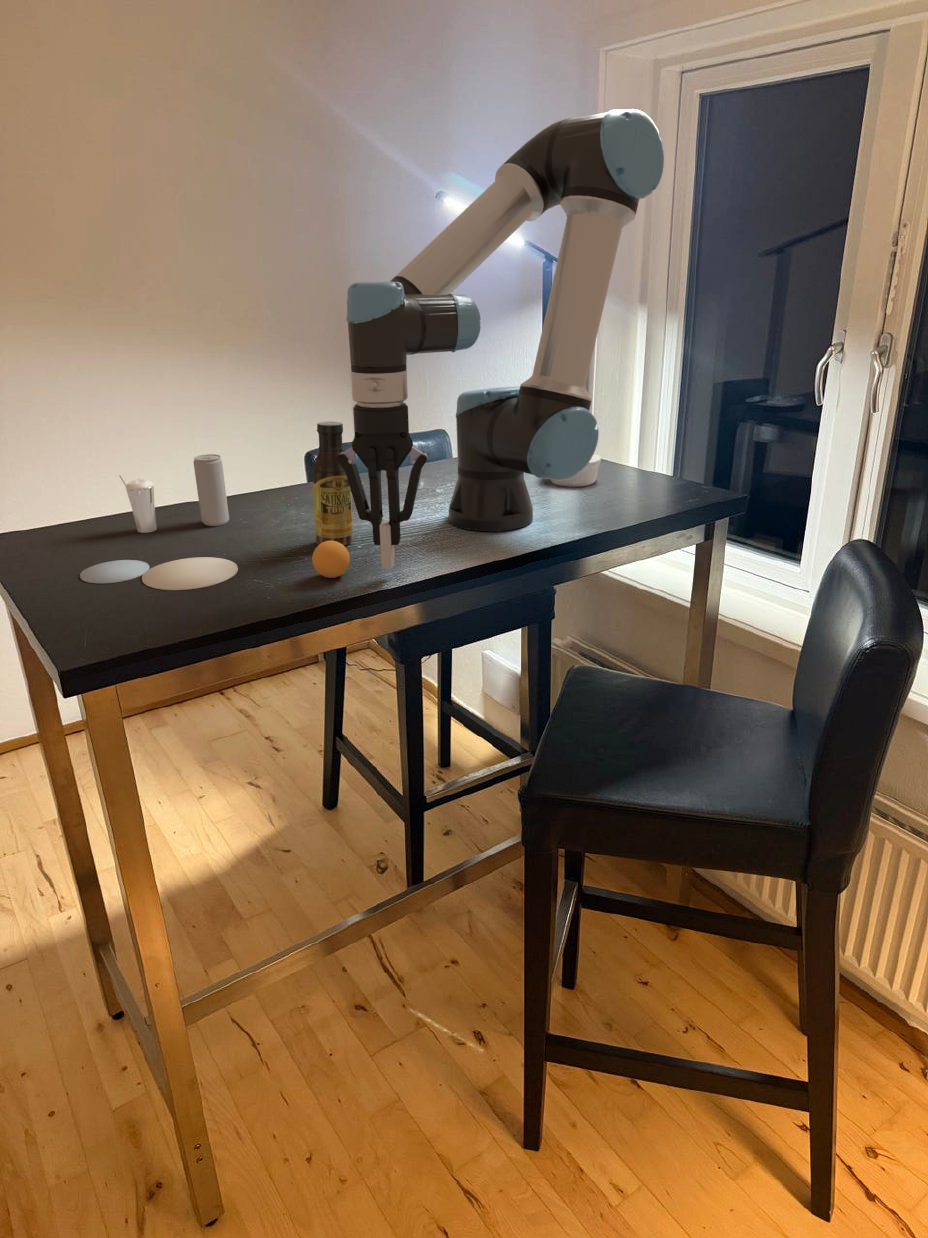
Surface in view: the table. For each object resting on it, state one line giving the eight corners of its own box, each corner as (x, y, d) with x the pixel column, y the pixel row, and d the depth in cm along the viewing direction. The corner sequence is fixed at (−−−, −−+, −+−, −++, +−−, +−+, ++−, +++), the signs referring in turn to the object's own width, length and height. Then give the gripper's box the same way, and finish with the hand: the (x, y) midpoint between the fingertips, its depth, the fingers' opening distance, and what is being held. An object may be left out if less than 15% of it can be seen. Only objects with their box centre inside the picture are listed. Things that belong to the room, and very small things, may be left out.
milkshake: (132, 527, 153) (123, 472, 149) (163, 526, 153) (154, 471, 149) (125, 534, 148) (115, 478, 144) (157, 533, 149) (147, 477, 145)
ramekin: (541, 476, 183) (541, 452, 181) (592, 474, 184) (593, 450, 182) (551, 489, 173) (552, 464, 171) (605, 487, 174) (607, 461, 172)
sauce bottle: (322, 551, 139) (313, 427, 131) (310, 541, 144) (300, 421, 136) (360, 545, 141) (353, 424, 134) (347, 535, 146) (339, 418, 139)
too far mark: (162, 563, 134) (162, 562, 134) (123, 586, 125) (122, 584, 125) (108, 559, 137) (107, 557, 137) (65, 580, 128) (65, 579, 128)
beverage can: (222, 527, 152) (213, 460, 147) (197, 526, 153) (187, 459, 148) (234, 519, 156) (226, 454, 151) (209, 518, 157) (201, 453, 152)
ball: (356, 571, 130) (354, 537, 127) (342, 584, 125) (339, 548, 123) (323, 569, 131) (320, 534, 129) (307, 581, 126) (304, 545, 124)
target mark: (254, 562, 134) (254, 560, 134) (206, 593, 122) (206, 592, 122) (176, 555, 138) (176, 554, 138) (122, 585, 125) (122, 584, 125)
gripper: (327, 406, 114) (339, 573, 123) (424, 407, 113) (428, 575, 122) (339, 398, 121) (350, 556, 130) (430, 398, 120) (435, 557, 129)
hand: (388, 565), depth 126 cm, fingers closed
